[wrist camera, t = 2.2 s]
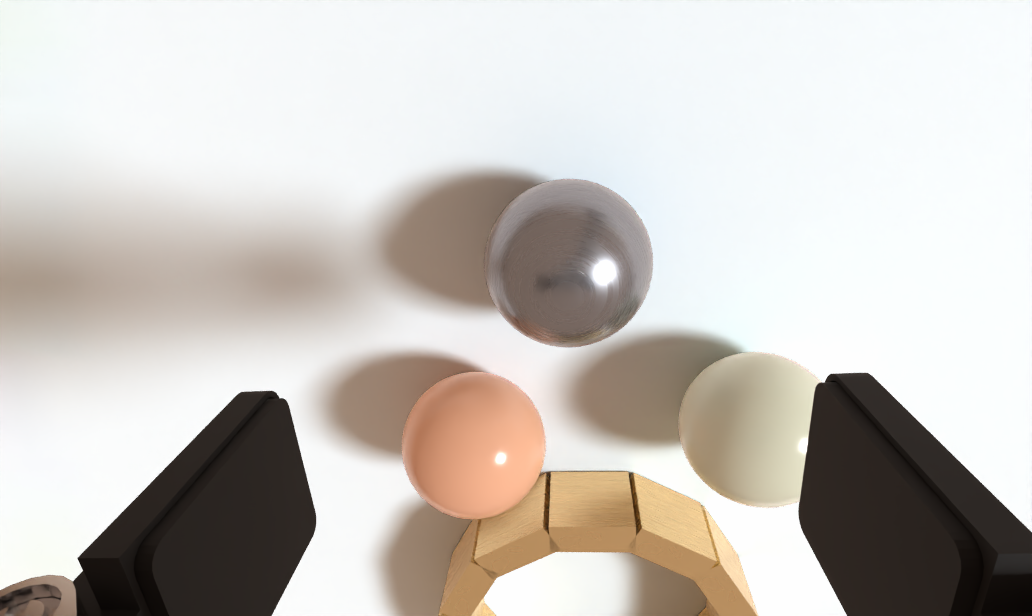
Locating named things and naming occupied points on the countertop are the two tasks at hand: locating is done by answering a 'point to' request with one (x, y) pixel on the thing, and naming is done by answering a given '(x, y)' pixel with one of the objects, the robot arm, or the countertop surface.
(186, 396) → the countertop surface
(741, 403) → the cream ball
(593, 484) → the ring
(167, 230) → the countertop surface
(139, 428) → the countertop surface
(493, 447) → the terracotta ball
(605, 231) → the steel ball
